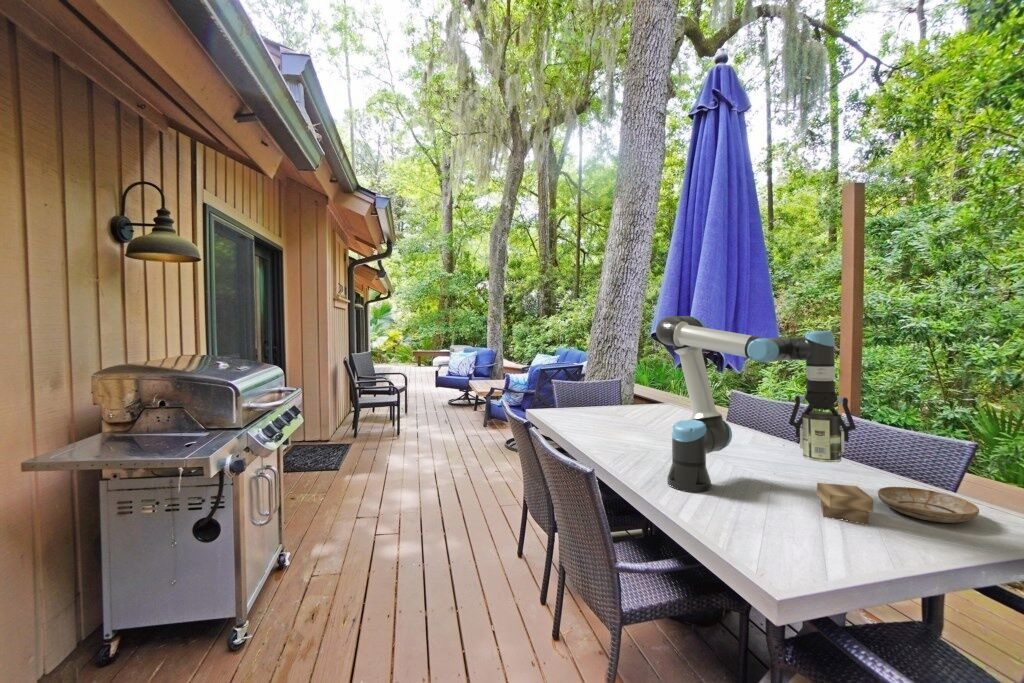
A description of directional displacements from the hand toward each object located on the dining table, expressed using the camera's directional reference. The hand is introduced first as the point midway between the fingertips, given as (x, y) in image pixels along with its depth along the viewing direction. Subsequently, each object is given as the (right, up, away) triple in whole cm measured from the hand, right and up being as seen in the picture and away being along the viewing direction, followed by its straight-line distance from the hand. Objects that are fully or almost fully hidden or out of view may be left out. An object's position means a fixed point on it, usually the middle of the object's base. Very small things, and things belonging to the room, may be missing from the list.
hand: (821, 449), depth 142 cm
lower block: (+5, -20, -2) cm, 21 cm away
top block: (+5, -16, -2) cm, 17 cm away
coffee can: (0, -3, 0) cm, 3 cm away
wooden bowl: (+31, -20, -2) cm, 37 cm away
